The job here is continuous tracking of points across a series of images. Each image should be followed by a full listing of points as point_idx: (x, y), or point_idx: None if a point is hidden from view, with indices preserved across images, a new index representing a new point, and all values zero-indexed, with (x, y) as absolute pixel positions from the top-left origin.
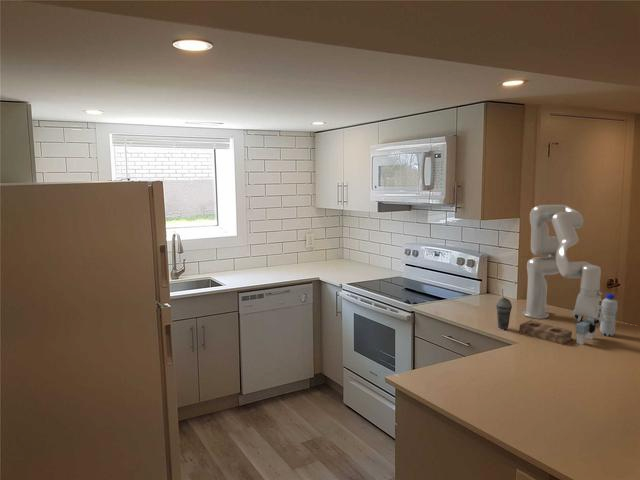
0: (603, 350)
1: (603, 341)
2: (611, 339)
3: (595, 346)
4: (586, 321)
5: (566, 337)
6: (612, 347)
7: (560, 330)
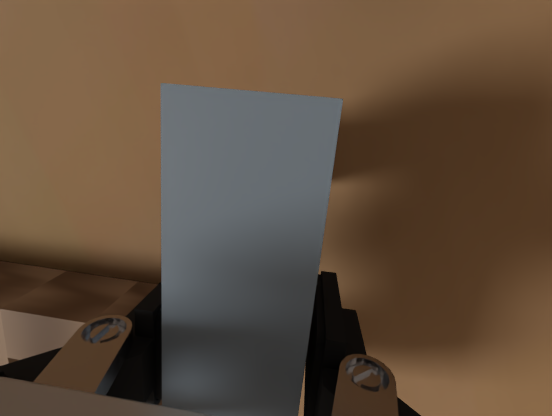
0: (440, 373)
1: (401, 164)
2: (459, 40)
3: (372, 328)
4: (213, 371)
5: None
6: (495, 268)
7: None
